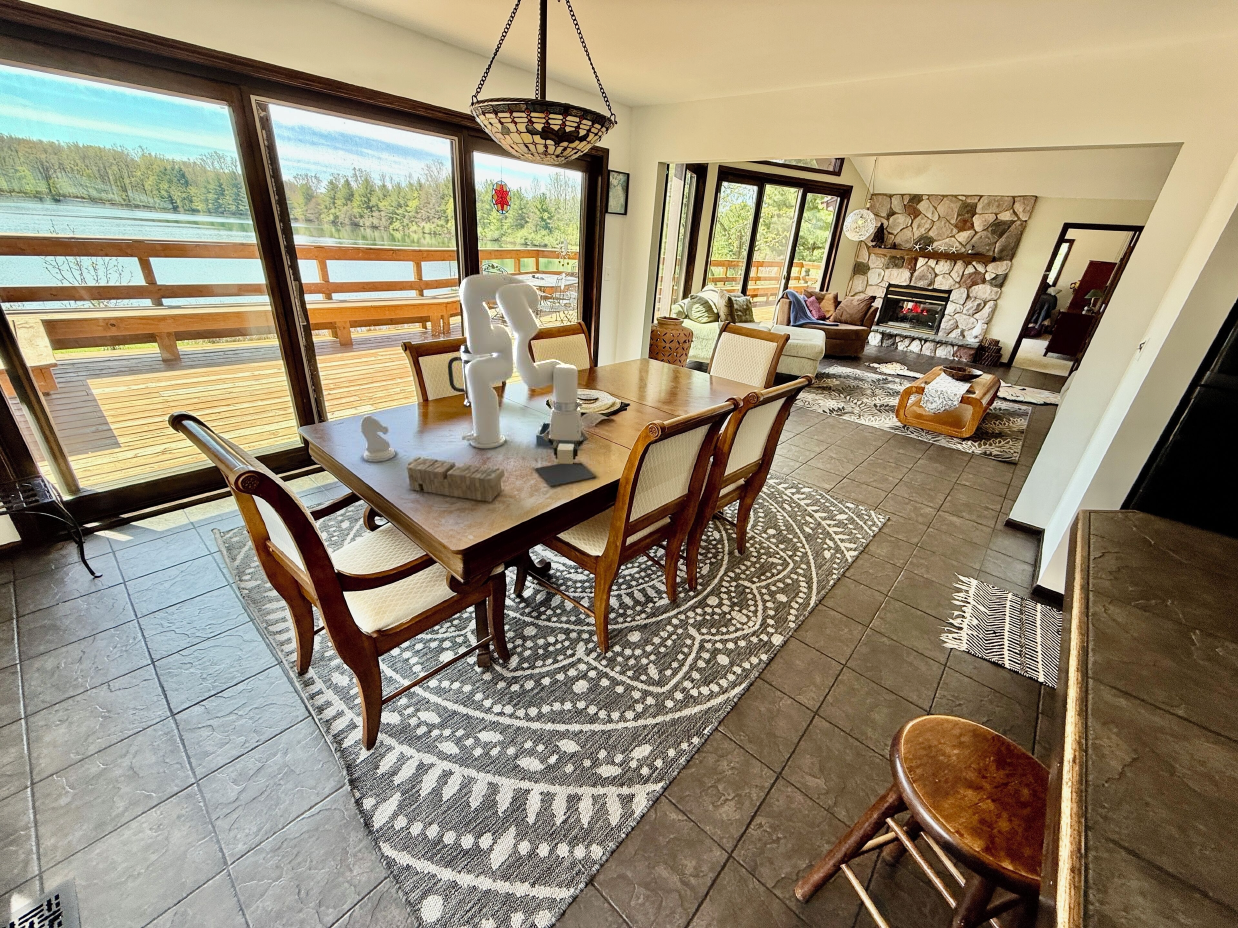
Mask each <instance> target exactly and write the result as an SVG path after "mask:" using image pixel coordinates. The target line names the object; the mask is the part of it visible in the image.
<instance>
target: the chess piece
mask: <svg viewBox="0 0 1238 928" xmlns="http://www.w3.org/2000/svg"><path fill="white" fill-rule="evenodd" d="M360 432H361V434H362V435H363V437H364V439H365V441H366V446H365V447H364V450H365V452H364V453H363V460H365V461H367V462H372V463H373V462H374V463H375V462H383V461H388V460H390V459H392V458H393V457H394V456H395V455H396V452H395V450H394V449H393V448H391V444H390V442H389V441H388V440H387V439H386V438H385V437H384V436H382V435H381V434H383V435H385V436H386V435H387V434H388V433H389V427H388V426H387V425H384V424H383V423H381V422H380V421H379V420H378V418H376V417H373V416H372V414H367V415H364V416H363V417H362V419H361V420H360ZM379 433H381V434H379Z"/></svg>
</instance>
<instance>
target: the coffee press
mask: <svg viewBox="0 0 1238 928" xmlns="http://www.w3.org/2000/svg"><path fill="white" fill-rule="evenodd" d="M459 352H460V356H453V357H451V358H450V359H449V361H448V363H447V375H448V381H449V386H450V388H451V389H452V390H453V391H455V392H458V393H463V394H464V398H465V400H464V402H463V406H466V407H469V406H470V404H471V396H470V389H469V385H468V381H467V378H466V373H465V369H466V366H467V365H468V363H470V362H471V361H473V360H476V359H480V358H485V357H491V356H493V353H491V354H486V355H474V354H472V353H471V352H470V351H469V348H468V344H467V342H464V343H463V344H461V345H460V348H459ZM455 362H460V363H461V368H462V376H463V378H462V379H463V387H457V386H456V385H455V380H454V371H453V370H454V369H453V364H454V363H455Z"/></svg>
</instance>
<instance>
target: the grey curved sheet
mask: <svg viewBox="0 0 1238 928" xmlns="http://www.w3.org/2000/svg"><path fill="white" fill-rule="evenodd" d="M604 419H610V420H612V421H614V419H613V418H611V417H607V416H605V415H602V414H600V413H598V412H588V413H585V414H584V415H581V420H582V423H584V424H587V425H589V426H591V427H595V426H596V425H597V424H598V423H599V422H600V421H602V420H604Z"/></svg>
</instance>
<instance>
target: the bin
mask: <svg viewBox="0 0 1238 928" xmlns="http://www.w3.org/2000/svg"><path fill="white" fill-rule="evenodd" d="M549 428H550V422H542V421H541V423H540V426H539V427H538V430H537V432H536V435H535V441H536V445H535V446H536V447H552V448H553V446H552V445H551V444H550V443H549V442H548V441H547V440H545V439H544V438H543V435H544V434H545V433H546V431H547V430H548V429H549ZM549 437H550V434H549ZM580 439H581V438H580ZM580 439H579V440H580ZM553 440H554V439H553ZM579 440H578V441H579ZM559 444H573V441H572V440H558V445H559Z"/></svg>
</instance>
